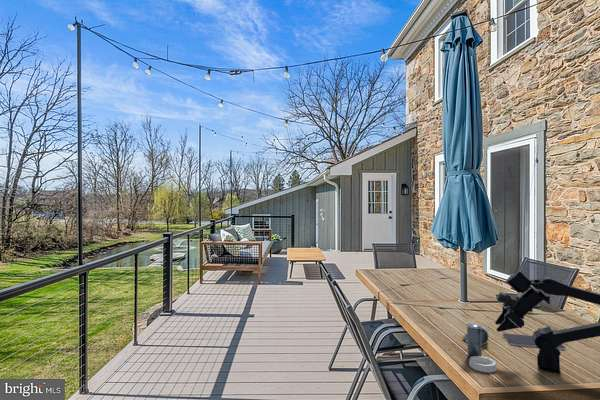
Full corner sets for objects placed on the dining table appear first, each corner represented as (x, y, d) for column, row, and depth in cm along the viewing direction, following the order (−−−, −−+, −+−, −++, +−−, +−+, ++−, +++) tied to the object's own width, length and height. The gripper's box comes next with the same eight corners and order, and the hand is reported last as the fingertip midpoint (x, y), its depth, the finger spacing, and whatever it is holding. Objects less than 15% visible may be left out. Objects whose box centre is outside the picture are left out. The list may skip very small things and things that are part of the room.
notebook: (554, 341, 164) (503, 336, 170) (554, 337, 164) (503, 333, 170) (566, 351, 151) (510, 346, 158) (566, 347, 151) (510, 342, 158)
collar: (497, 365, 137) (497, 359, 137) (494, 374, 129) (494, 368, 129) (471, 360, 142) (471, 354, 142) (467, 368, 134) (467, 362, 135)
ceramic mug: (488, 340, 164) (487, 323, 164) (488, 346, 156) (488, 328, 157) (463, 336, 169) (462, 320, 169) (462, 342, 161) (461, 325, 162)
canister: (483, 356, 145) (482, 324, 146) (481, 361, 141) (480, 328, 141) (468, 353, 148) (468, 322, 149) (466, 358, 144) (465, 326, 144)
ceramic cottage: (530, 300, 234) (528, 278, 234) (545, 308, 218) (543, 284, 218) (505, 301, 236) (504, 279, 236) (518, 309, 219) (517, 285, 219)
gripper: (507, 281, 148) (479, 305, 152) (512, 290, 131) (480, 317, 136) (531, 302, 144) (501, 326, 149) (538, 314, 128) (505, 341, 132)
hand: (496, 327), depth 141 cm, fingers open, 9 cm apart
